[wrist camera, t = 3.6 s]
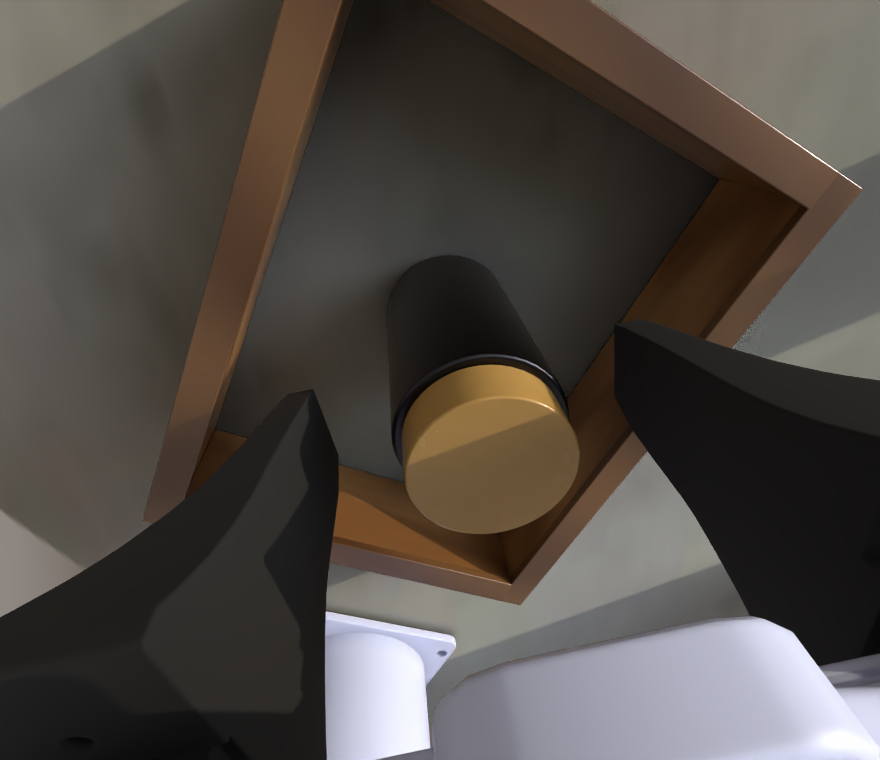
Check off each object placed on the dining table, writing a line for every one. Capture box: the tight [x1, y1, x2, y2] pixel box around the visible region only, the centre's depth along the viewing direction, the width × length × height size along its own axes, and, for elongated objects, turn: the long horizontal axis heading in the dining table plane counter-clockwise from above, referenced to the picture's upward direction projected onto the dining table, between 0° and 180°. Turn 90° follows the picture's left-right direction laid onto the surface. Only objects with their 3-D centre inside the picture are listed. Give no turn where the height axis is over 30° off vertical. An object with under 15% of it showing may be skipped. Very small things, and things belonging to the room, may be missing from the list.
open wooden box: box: [143, 0, 862, 605], centre depth 14 cm, size 16×13×4 cm
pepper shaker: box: [387, 256, 580, 534], centre depth 13 cm, size 4×4×8 cm
